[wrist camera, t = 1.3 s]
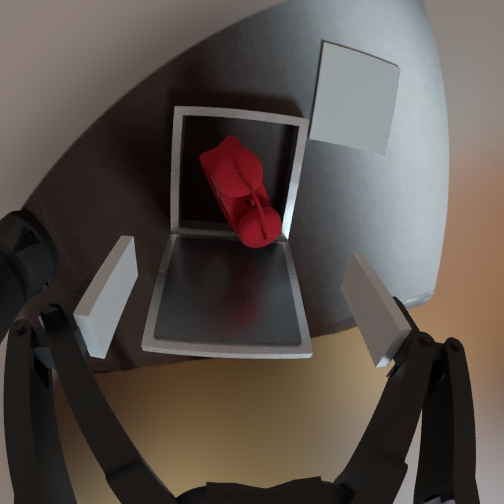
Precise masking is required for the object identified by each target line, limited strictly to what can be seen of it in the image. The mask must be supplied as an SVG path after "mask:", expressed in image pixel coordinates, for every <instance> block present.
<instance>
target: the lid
mask: <svg viewBox="0 0 504 504" xmlns="http://www.w3.org/2000/svg"><path fill="white" fill-rule="evenodd" d="M141 346H142V349H143V351H151V352H160V353H169V354H180V355H192V356H206V357H225V358H310V357H311V356H312V354H313V351H312V346H311V341H310V336H309V331H308V326H307V322H306V317H305V312H304V308H303V303H302V298H301V294H300V289H299V285H298V281H297V276H296V272H295V268H294V263H293V259H292V255H291V251H290V246H289V242H281V241H272V242H271V243H270V244H268V245H266V246H263V247H260V248H250V247H247V246H246V245H244V244H243V243H242V242H241V240H240V238H226V237H212V236H197V235H181V234H170V235H169V238H168V242H167V245H166V248H165V252H164V255H163V259H162V262H161V266H160V270H159V273H158V277H157V281H156V285H155V288H154V292H153V296H152V300H151V305H150V309H149V313H148V317H147V322H146V326H145V331H144V335H143V340H142V345H141Z"/></svg>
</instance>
